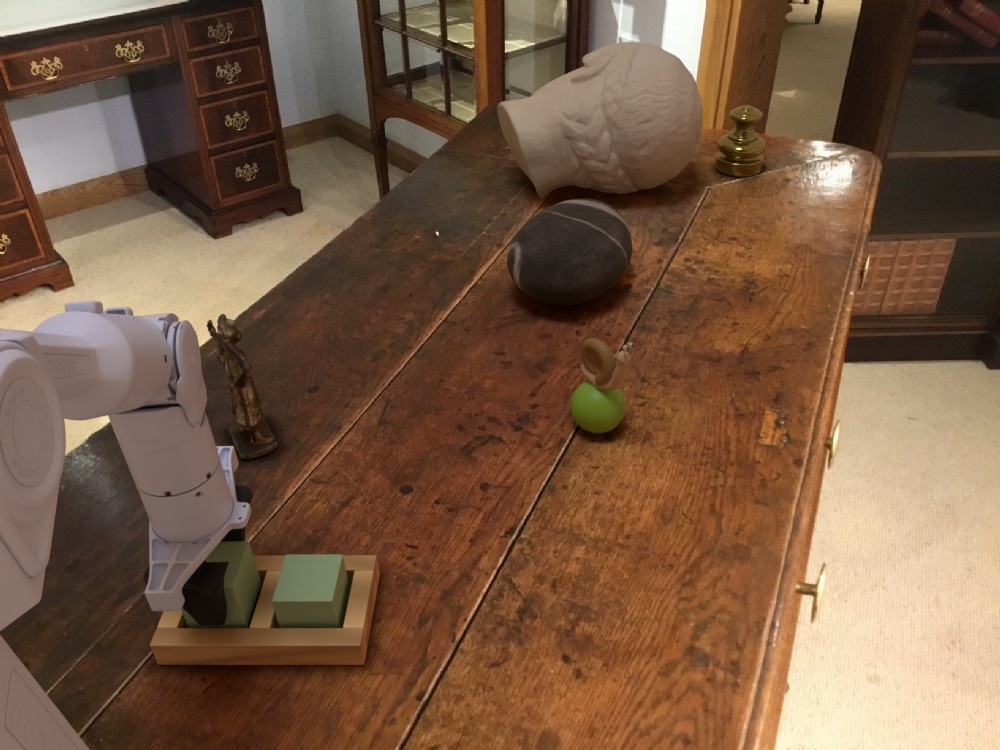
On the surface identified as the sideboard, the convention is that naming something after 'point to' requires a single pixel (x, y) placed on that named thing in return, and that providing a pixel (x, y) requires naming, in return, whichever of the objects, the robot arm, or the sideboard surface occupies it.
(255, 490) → the sideboard surface
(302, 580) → the green cubic block
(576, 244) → the decorative stone
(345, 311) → the sideboard surface
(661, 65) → the bust
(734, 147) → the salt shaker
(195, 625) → the olive green cubic block
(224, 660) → the backing frame
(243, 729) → the sideboard surface
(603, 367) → the snail figurine
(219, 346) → the figurine
